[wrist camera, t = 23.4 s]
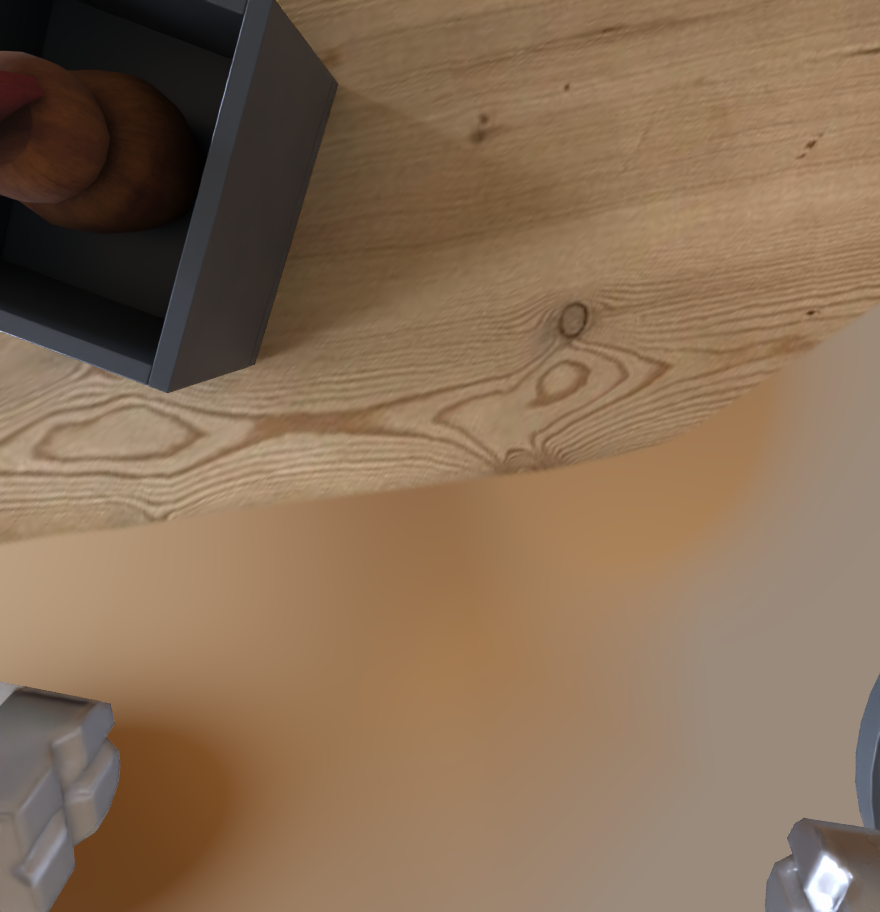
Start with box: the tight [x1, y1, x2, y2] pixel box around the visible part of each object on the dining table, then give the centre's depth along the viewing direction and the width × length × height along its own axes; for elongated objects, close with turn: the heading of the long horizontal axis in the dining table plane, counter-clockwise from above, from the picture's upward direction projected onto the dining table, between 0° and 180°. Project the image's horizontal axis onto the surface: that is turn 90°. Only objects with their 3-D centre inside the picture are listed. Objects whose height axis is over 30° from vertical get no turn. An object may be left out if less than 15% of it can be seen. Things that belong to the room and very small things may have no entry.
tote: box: [0, 0, 338, 393], centre depth 30 cm, size 14×14×10 cm
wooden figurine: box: [0, 51, 202, 234], centre depth 26 cm, size 7×6×15 cm
